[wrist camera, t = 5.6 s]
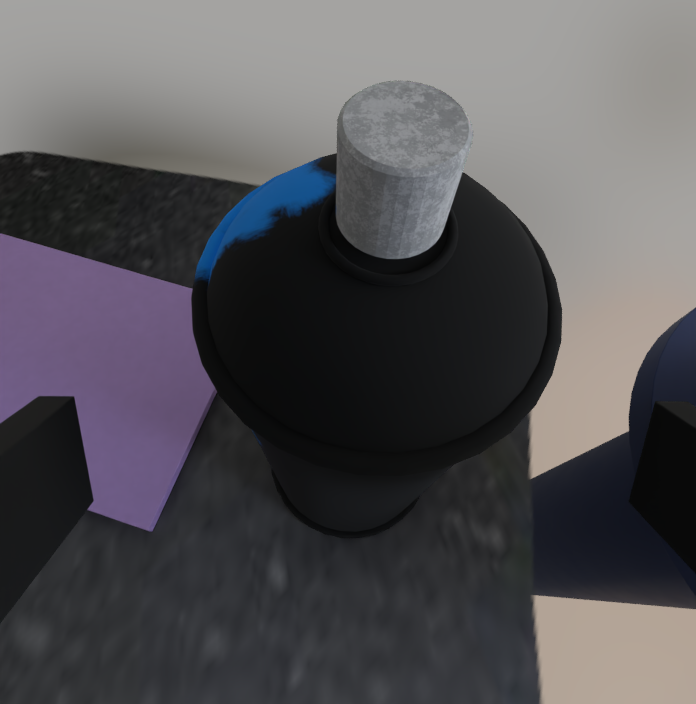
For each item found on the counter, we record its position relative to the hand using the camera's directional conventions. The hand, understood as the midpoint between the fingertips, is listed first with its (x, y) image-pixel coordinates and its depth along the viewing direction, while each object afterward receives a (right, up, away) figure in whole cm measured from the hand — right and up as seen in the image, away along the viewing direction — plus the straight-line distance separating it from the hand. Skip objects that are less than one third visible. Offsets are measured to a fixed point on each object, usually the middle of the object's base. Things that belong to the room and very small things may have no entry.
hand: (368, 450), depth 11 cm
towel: (-18, +2, +16) cm, 24 cm away
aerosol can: (0, -3, +14) cm, 14 cm away
